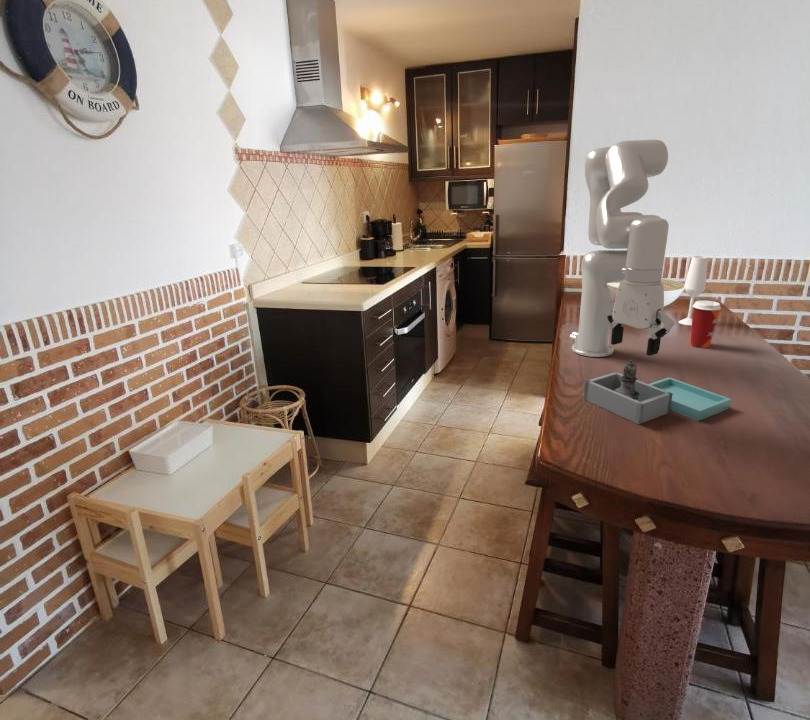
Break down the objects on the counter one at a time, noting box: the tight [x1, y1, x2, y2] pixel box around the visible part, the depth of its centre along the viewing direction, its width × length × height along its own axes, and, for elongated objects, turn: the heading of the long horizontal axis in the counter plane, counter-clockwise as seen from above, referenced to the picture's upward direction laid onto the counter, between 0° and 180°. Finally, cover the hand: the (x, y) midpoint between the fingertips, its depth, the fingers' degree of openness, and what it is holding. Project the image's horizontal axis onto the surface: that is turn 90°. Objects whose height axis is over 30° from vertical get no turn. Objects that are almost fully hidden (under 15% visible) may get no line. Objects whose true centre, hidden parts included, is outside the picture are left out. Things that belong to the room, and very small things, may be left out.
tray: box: [648, 377, 732, 422], centre depth 122 cm, size 16×12×2 cm
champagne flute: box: [678, 255, 709, 326], centre depth 179 cm, size 7×7×24 cm
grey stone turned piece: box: [614, 359, 640, 400], centre depth 120 cm, size 6×6×12 cm
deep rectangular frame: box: [583, 371, 673, 425], centre depth 121 cm, size 16×11×5 cm
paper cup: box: [689, 300, 722, 349], centre depth 158 cm, size 8×8×14 cm
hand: (633, 348), depth 116 cm, fingers open, 9 cm apart
